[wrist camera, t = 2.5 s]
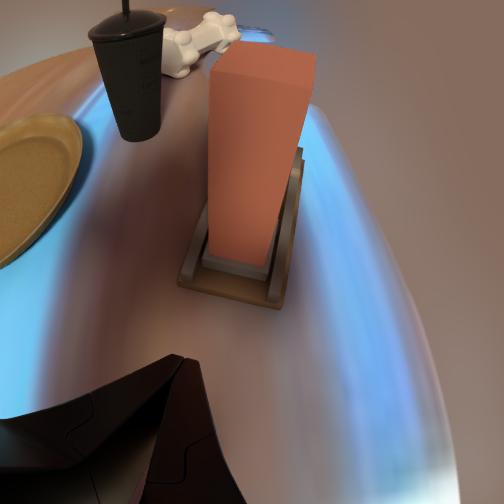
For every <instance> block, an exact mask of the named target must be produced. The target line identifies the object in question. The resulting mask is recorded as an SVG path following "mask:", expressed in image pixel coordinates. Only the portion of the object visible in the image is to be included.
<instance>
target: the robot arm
mask: <svg viewBox="0 0 504 504" xmlns="http://www.w3.org/2000/svg"><path fill="white" fill-rule="evenodd" d="M151 457H152V458H151ZM150 459H151V462H150V466H149V470H148V474H147V478H146V484H145V487H144V490H143V494H142V497H141V500H140V502H139V504H247V502H246V501H245V499H244V497H243V495H242V493H241V491H240V490H239V488H238V486H237V484H236V482H235V480H234V478H233V476H232V474H231V472H230V470H229V468H228V465H227V463H226V461H225V459H224V456H223V453H222V450H221V447H220V444H219V440H218V437H217V434H216V430H215V426H214V422H213V418H212V414H211V410H210V406H209V402H208V398H207V394H206V390H205V386H204V381H203V377H202V373H201V368H200V364H199V361H197V360H194V359H190V358H185V359H184V357H182V356H179V355H175V354H170V355H168V356H166V357H164V358H162V359H160V360H158V361H155V362H153V363H151V364H149V365H147V366H145V367H143V368H141V369H139V370H137V371H135V372H133V373H131V374H129V375H126V376H124V377H122V378H120V379H118V380H116V381H114V382H111V383H109V384H107V385H105V386H103V387H101V388H98V389H96V390H94V391H92V392H91V394H90V393H87V394H85V395H83V396H80V397H78V398H75V399H73V400H70V401H68V402H65V403H63V404H59V405H56V406H53V407H50V408H47V409H43V410H40V411H36V412H33V413H29V414H25V415H21V416H17V417H14V418H8V419H0V504H128V502H129V500H130V498H131V496H132V494H133V492H134V490H135V488H136V486H137V484H138V482H139V480H140V478H141V476H142V474H143V472H144V470H145V469H146V467H147V465H148V463H149V461H150Z"/></svg>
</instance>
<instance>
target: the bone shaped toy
mask: <svg viewBox="0 0 504 504" xmlns="http://www.w3.org/2000/svg"><path fill="white" fill-rule="evenodd" d="M203 19H204V20H203V21H202V23H201V24H199V25H198V26H197V27H196V28H194V29H191V30H189V31H180V32H178V31H174V30H173V29H171V28H164V32H163V47H162V66H161V74H167V75H169V76H172V77H173V78H178V79H179V78H183V77H185V76H187V75H188V74H189V72H190V68H189V67H190V65H192V64H193V63H195V62H196V61H197V60H198V59H199V56H200V55H201V54H203V53H205V52H207V51H209V50H212V51H215V52H217V53H218V54H223V53H224V52H225V51H226V50H227V49H228V47H229V46H230V45H231V44H232V43H233V42H234V40H240V39H241V36H242V35H241V33H240V32H238V30H237V27H236V24H235V18H234V16H232V15H225V16H223V15H219V14H218V13H217V12H208V13H206V14H205V15H204V16H203Z"/></svg>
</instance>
